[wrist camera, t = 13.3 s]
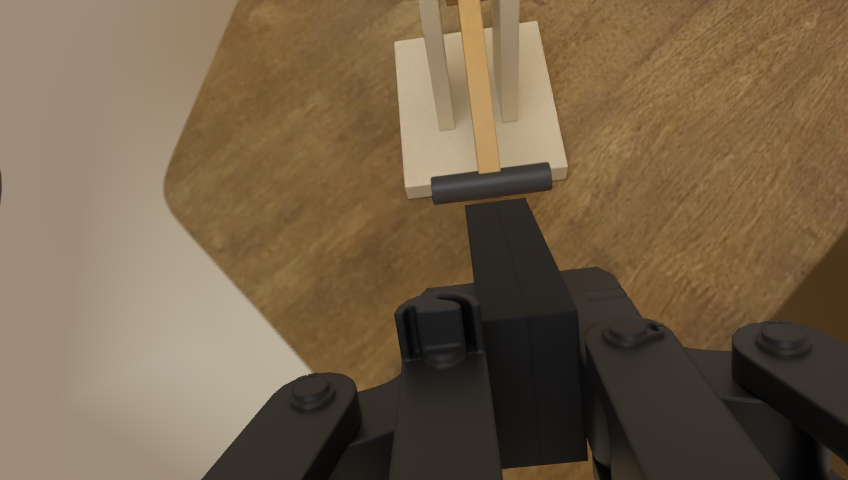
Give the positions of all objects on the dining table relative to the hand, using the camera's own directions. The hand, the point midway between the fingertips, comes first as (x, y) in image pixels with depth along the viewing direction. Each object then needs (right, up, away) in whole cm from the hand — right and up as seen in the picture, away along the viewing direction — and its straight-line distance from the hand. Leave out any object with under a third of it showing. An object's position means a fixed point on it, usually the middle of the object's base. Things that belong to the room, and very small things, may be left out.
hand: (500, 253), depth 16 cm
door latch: (+2, +9, +27) cm, 29 cm away
